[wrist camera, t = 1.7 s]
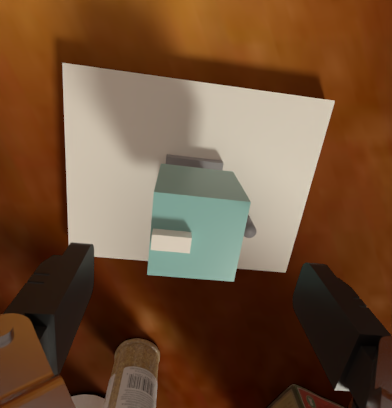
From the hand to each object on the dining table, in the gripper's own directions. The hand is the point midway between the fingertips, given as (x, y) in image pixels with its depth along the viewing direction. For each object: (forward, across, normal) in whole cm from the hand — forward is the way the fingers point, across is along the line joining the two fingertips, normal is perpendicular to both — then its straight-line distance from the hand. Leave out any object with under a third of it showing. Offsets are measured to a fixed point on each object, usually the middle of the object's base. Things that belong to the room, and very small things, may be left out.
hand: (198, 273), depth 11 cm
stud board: (+13, 0, 0) cm, 13 cm away
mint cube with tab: (+8, 0, 0) cm, 8 cm away
